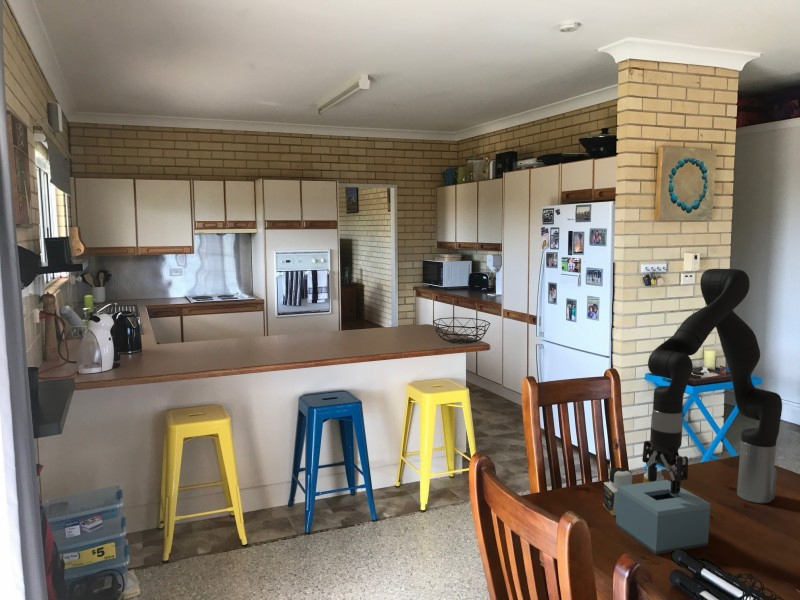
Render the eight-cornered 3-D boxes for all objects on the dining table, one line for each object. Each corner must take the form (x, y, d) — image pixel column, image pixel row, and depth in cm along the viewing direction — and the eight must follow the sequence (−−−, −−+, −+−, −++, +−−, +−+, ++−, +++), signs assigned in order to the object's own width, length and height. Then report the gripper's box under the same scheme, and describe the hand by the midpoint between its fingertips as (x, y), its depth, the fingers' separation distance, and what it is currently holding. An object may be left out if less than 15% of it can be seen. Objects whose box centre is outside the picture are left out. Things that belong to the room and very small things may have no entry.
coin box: (664, 518, 176) (666, 479, 175) (707, 545, 161) (710, 503, 160) (615, 525, 172) (617, 486, 170) (655, 554, 156) (658, 511, 155)
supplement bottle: (655, 507, 183) (656, 473, 182) (638, 500, 188) (640, 467, 187) (666, 503, 186) (668, 469, 185) (649, 496, 191) (651, 463, 190)
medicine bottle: (602, 505, 184) (604, 465, 183) (625, 504, 185) (627, 465, 184) (612, 516, 177) (614, 475, 176) (636, 515, 178) (639, 474, 177)
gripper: (698, 434, 157) (694, 496, 159) (659, 417, 171) (656, 475, 173) (673, 437, 155) (670, 499, 157) (636, 420, 169) (633, 478, 170)
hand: (663, 487), depth 165 cm, fingers open, 8 cm apart
